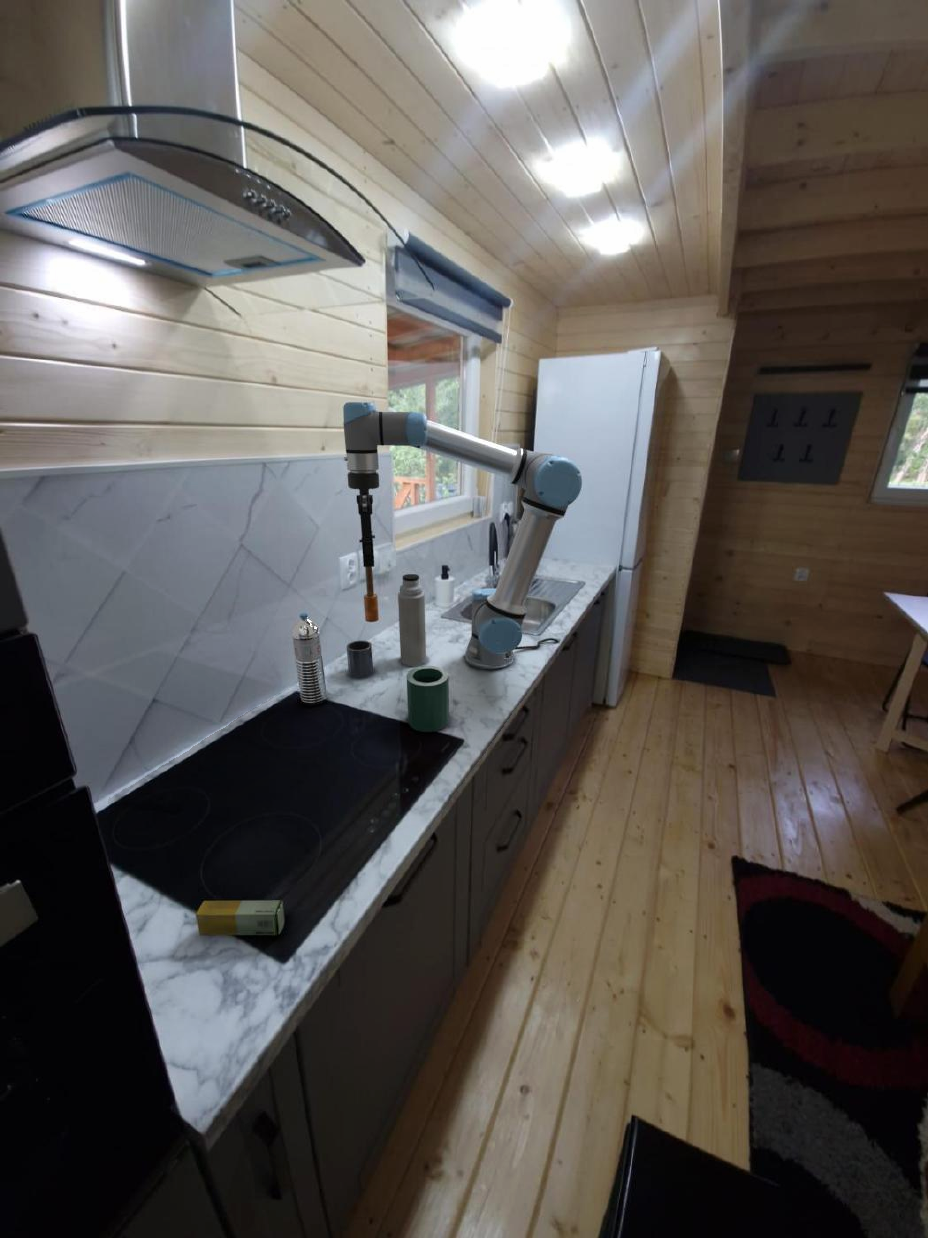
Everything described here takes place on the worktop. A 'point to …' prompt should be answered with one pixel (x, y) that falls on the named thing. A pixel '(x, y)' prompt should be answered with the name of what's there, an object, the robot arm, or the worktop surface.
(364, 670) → the holder
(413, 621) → the thermos bottle
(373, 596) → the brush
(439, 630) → the worktop surface
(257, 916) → the medication box
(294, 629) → the water bottle
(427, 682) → the jar
